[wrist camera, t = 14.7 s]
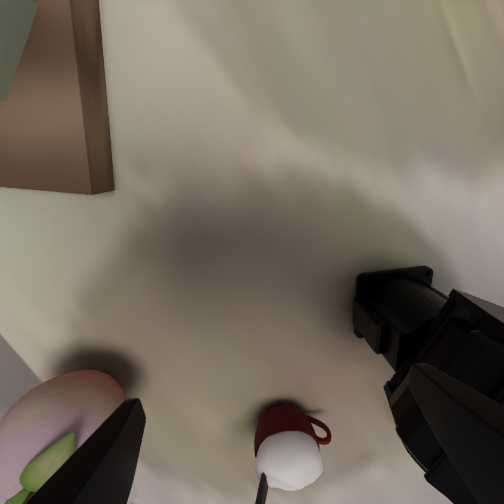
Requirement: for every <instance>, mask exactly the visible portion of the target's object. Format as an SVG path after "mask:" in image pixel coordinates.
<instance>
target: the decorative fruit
mask: <svg viewBox="0 0 504 504" xmlns="http://www.w3.org/2000/svg"><path fill="white" fill-rule="evenodd" d="M123 401H125V396H124V393H123V391H122V389H121V387H120V385H119V384H118V383H117V381H116V380H115V379H114V378H112V377H111V376H109V375H108V374H106V373H103V372H100V371H97V370H79V371H73V372H69V373H65V374H62V375H60V376H57V377H55V378H52V379H50V380H48V381H46V382H44V383H42V384H40V385H38V386H37V387H35V388H33V389H32V390H30V391H29V392H27V393H26V394H25V395H24V396H23V397H21V398H20V399H19V400H18V401H17V402H16V403H15V404H14V405H13V406H12V407H11V408H10V409H9V410H8V412H7V413H6V414H5V416H4V417H3V418H2V420H1V421H0V497H1V498H3V499H5V500H6V502H5V504H25V503H26V502H27V501H28V500H29V499H30V498H31V497H32V496H33V494H34V493H35V492H36V491H37V490H38V489H39V488H40V487H41V486H42V485H43V484H44V483H45V482H46V481H47V480H48V479H49V478H50V477H51V476H52V475H53V474H54V473H55V472H56V471H57V470H58V469H59V468H60V467H61V466H62V464H63V463H64V462H65V461H66V460H67V459H68V458H69V457H70V456H71V455H72V454H73V453H74V452H75V451H76V450H77V449H78V448H79V447H80V446H81V445H82V444H83V443H84V442H85V441H86V440H87V439H88V438H89V437H90V435H91V434H92V433H93V432H94V431H95V430H96V429H97V428H98V427H99V426H100V425H101V424H102V423H103V422H104V421H105V420H106V419H107V418H108V417H109V416H110V415H111V414H112V413H113V412H114V411H115V410H116V409H117V408H118V407H119V405H120V404H121V403H122V402H123Z"/></svg>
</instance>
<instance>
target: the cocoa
mask: <svg viewBox="0 0 504 504" xmlns="http://www.w3.org/2000/svg"><path fill="white" fill-rule="evenodd" d="M311 423H313V424H315V425H317V426H319V427H321V428H322V429H324V430H325V431H326V433H327V437H325V438H320V437H318V436H317V435H316V434H315V431H314V429H313V427H312V425H311ZM330 441H331V432H330V430H329V428H328V427H327V426H326V425H325V424H324V423H322V422H321V421H319V420H317V419H315V418H313V417H310V416H308V415H305V414H304V413H303V412H302V411H301V410H299V409H298V408H297V407H294V406H291V405H277V406H274V407H272V408H269V409H268V410H267V411H266V412H265V413H263V415H262V416H261V417H260V420H259V422H258V425H257V429H256V433H255V441H254V450H255V457H256V462H255V471H256V473H257V476H258V478H259V480H260V483H259V488H258V493H257V498H256V502H255V504H265V501H266V496H267V490H268V486H269V487H274V488H280V489H283V490H286V491H296V490H301V489H303V488H304V487H305V486H307V485H309V484H311V483H313V482H314V481H315V480H316V479H317V478H318V477H319V476H320V475H321V474H322V473H323V468H322V462H321V457H320V453H319V451H320V450H319V444H322V445H326V444H329V443H330Z"/></svg>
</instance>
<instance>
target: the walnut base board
mask: <svg viewBox="0 0 504 504" xmlns="http://www.w3.org/2000/svg"><path fill="white" fill-rule="evenodd" d="M33 1H34V2H36V3H37V4H38V5H39V7H38V9H37V12H36V15H35V18H34V21H33V24H32V27H31V30H30V33H29V36H28V39H27V41H26V44H25V47H24V50H23V53H22V56H21V59H20V62H19V65H18V68H17V71H16V74H15V76H14V79H13V82H12V85H11V88H10V91H9V94H8V97H7V100H6V101H5V100H2V99H0V187H8V188H20V189H31V190H43V191H54V192H66V193H77V194H88V195H93V194H98V193H103V192H107V191H112V190H114V179H113V167H112V156H111V144H110V132H109V120H108V108H107V97H106V85H105V73H104V61H103V50H102V38H101V26H100V14H99V2H98V0H33Z"/></svg>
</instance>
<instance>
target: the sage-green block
mask: <svg viewBox="0 0 504 504" xmlns="http://www.w3.org/2000/svg"><path fill="white" fill-rule="evenodd" d="M38 7H39V5H38V4H37V3H36V2H34V1H33V0H0V99H2V100H5V101H6V100H7V97H8V94H9V91H10V88H11V85H12V82H13V79H14V76H15V74H16V71H17V68H18V65H19V62H20V59H21V56H22V53H23V50H24V47H25V44H26V41H27V39H28V36H29V33H30V30H31V27H32V24H33V21H34V18H35V15H36V12H37V9H38Z"/></svg>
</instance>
